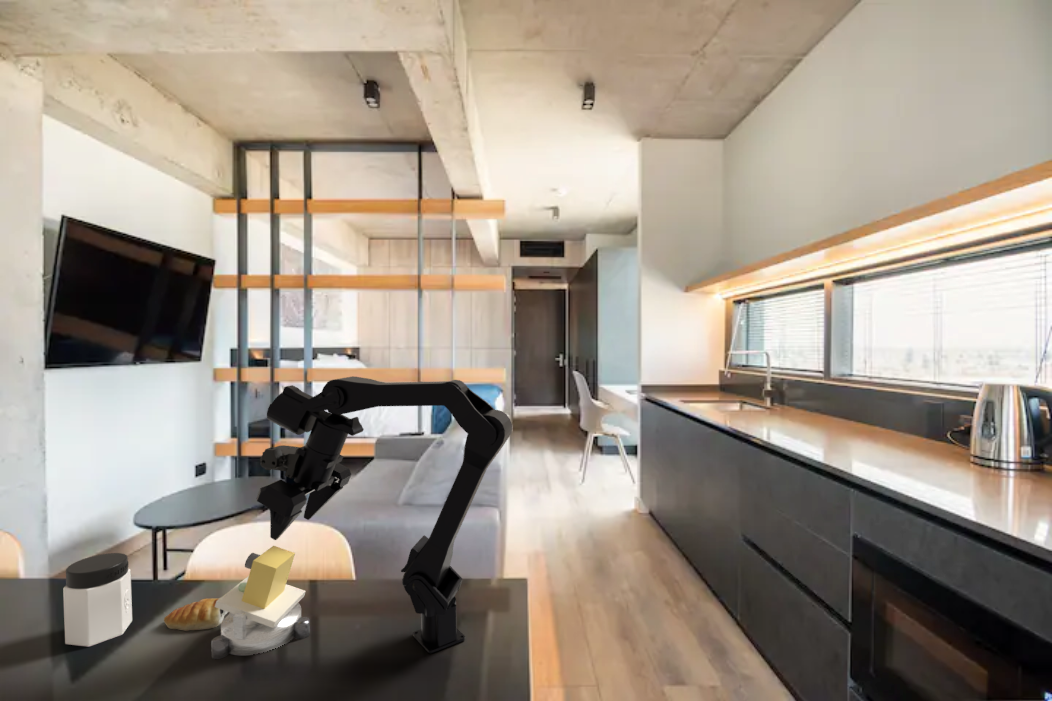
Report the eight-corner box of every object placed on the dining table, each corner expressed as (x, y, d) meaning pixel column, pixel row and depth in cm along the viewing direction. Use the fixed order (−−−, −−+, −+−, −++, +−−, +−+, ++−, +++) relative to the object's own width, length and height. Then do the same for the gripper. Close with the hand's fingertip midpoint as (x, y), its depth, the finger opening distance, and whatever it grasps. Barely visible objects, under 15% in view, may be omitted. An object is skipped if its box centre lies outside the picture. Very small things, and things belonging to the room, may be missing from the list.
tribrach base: (327, 612, 95) (327, 576, 95) (286, 661, 81) (285, 619, 81) (252, 610, 96) (251, 575, 96) (199, 658, 82) (198, 617, 82)
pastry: (157, 637, 88) (156, 614, 88) (174, 616, 95) (173, 595, 95) (219, 629, 90) (219, 607, 90) (231, 609, 97) (231, 589, 97)
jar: (119, 642, 87) (116, 569, 86) (57, 652, 84) (54, 578, 83) (138, 614, 95) (135, 548, 95) (82, 623, 92) (79, 555, 92)
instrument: (304, 598, 93) (317, 553, 93) (271, 631, 83) (286, 581, 82) (251, 579, 94) (264, 534, 94) (212, 610, 83) (227, 560, 83)
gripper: (314, 416, 99) (285, 490, 101) (245, 437, 81) (210, 526, 82) (365, 443, 98) (334, 517, 99) (307, 469, 79) (270, 560, 81)
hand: (290, 528), depth 91 cm, fingers open, 9 cm apart
